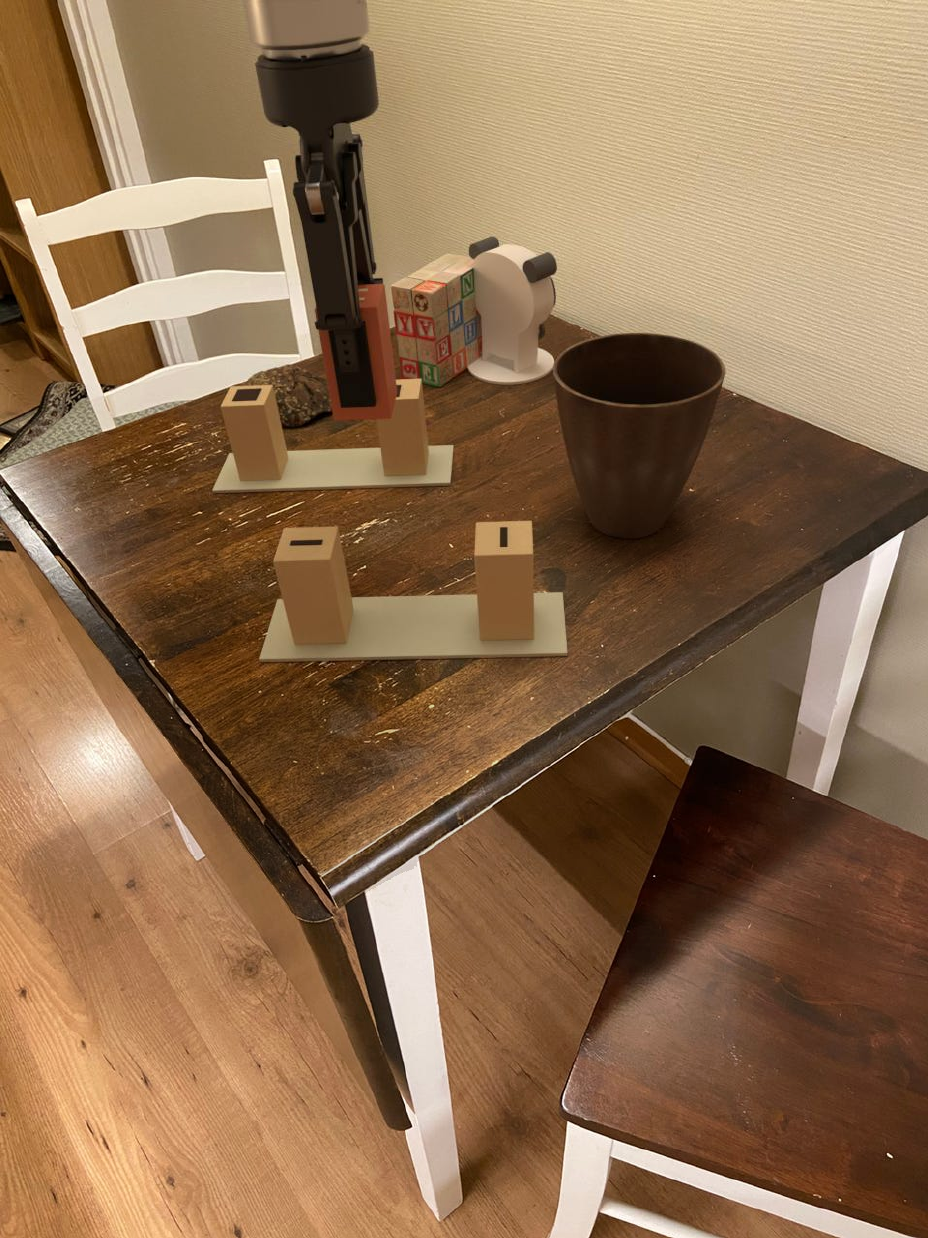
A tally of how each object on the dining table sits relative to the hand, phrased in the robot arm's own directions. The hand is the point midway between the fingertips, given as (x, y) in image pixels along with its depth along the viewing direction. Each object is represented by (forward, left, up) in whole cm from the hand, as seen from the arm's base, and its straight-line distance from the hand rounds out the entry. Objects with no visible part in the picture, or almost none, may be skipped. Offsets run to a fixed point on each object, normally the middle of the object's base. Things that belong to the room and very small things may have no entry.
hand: (363, 388), depth 71 cm
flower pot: (+23, +8, -19) cm, 31 cm away
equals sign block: (0, 0, -2) cm, 2 cm away
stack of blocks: (+5, +49, -19) cm, 53 cm away
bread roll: (-16, +35, -19) cm, 43 cm away
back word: (-8, +19, -19) cm, 28 cm away
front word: (+3, -8, -19) cm, 21 cm away
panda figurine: (+12, +44, -19) cm, 50 cm away
